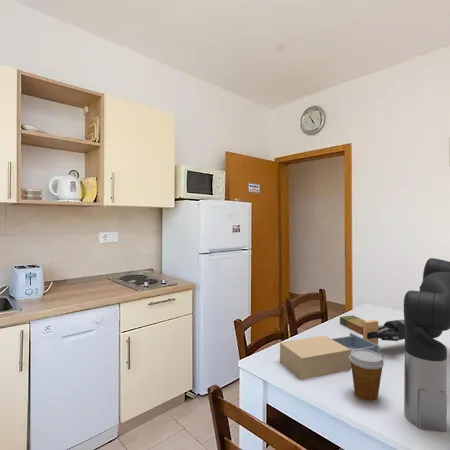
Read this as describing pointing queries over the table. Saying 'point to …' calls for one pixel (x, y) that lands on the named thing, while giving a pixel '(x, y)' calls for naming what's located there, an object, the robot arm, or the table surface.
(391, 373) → the table surface
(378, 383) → the disposable coffee cup
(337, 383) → the table surface
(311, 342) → the box lid
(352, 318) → the carton
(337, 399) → the table surface
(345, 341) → the grey box
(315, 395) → the table surface
